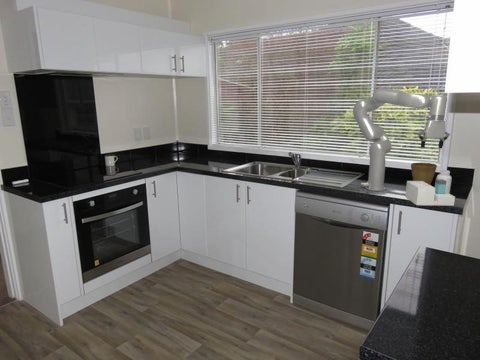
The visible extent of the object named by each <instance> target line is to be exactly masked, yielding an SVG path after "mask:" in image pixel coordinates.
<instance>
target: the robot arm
mask: <svg viewBox="0 0 480 360" xmlns="http://www.w3.org/2000/svg"><path fill="white" fill-rule="evenodd" d="M447 102H448V96H446V95H429V94H416V93H411V92H410V93H408V92H406V91H403V90H398V89H390V88H386V87H379V88H376V90H374V92H373V94H372V97H370V98H363V99H359V100H358V101H356V102H355V104H354V106H353V109H352V114H353V118H354V120H355V122H356V124H357V125H358V127H359V130H360V131H361V133H362V135H363V137H364V139H365V140H366V141H369V142H372V143H371V144H370V146H369V152H368V153H369V168H368V180H367V181H366V182H360V186H362V187H365V189H366V190H368V191H372V192H383V191H386V189H387V188H386V186H384V185H385V184H384V183H385V171H386V154H388V153H390V152H391V151H392V143H391V140H390V139H389V137H388V135H387V134H386V132H385V130H384V128H383V127H382V126H380V125H377V124H374V122H373V120H372V119H371V116H369V114H368V113H371V112H374V111H376V110H377V109H379V108H381V106H383V105H385V104H387V105H394V106H395V105H396V106H401V107H402V106H403V107H407V108H414V109H418V110H419V109H429V114H428V115H426V119H427V120H426V123H425V126H424V129H423V130H421V131H419V132H418V133H417V136H418V138H419V140H420V141H421V142H420V147H421V148H422V149H425V147H426V140H427V139H439V141H438V147H437V148H439V149H443V147H444V142H445V141H446V140H448V138H449V136H450V135H451V134H450V133H448V132H447V131H446V120H445V114H446V108H447ZM422 135H423V136H422Z"/></svg>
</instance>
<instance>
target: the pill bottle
mask: <svg viewBox="0 0 480 360" xmlns="http://www.w3.org/2000/svg"><path fill="white" fill-rule="evenodd" d="M450 173H451V171H450V170H446V169H440V170H439V174H437V175H436V178H435V180H436V179H443V180H445V181H446V189H445V192H447V193H449V194H451V186H452V180H453V179H452V176H451V175H450Z"/></svg>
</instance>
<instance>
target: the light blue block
mask: <svg viewBox="0 0 480 360" xmlns="http://www.w3.org/2000/svg"><path fill="white" fill-rule="evenodd" d="M434 188H435V193H436V194H445V189H446V181H445V180H443V179H436V178H435V182H434Z"/></svg>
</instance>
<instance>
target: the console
mask: <svg viewBox="0 0 480 360" xmlns="http://www.w3.org/2000/svg"><path fill="white" fill-rule="evenodd" d="M405 198H406V199H408V200H409V201H410V202H411V203H413V204H414V205H416V206H455V201H456V200H455V199H456V196H454V195H453V194H451V193H447V192H445V194H436V193H435V186H432V185H431V184H430V185H429V184H427V183H425V182H423V181H413V180H406V189H405Z"/></svg>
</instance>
